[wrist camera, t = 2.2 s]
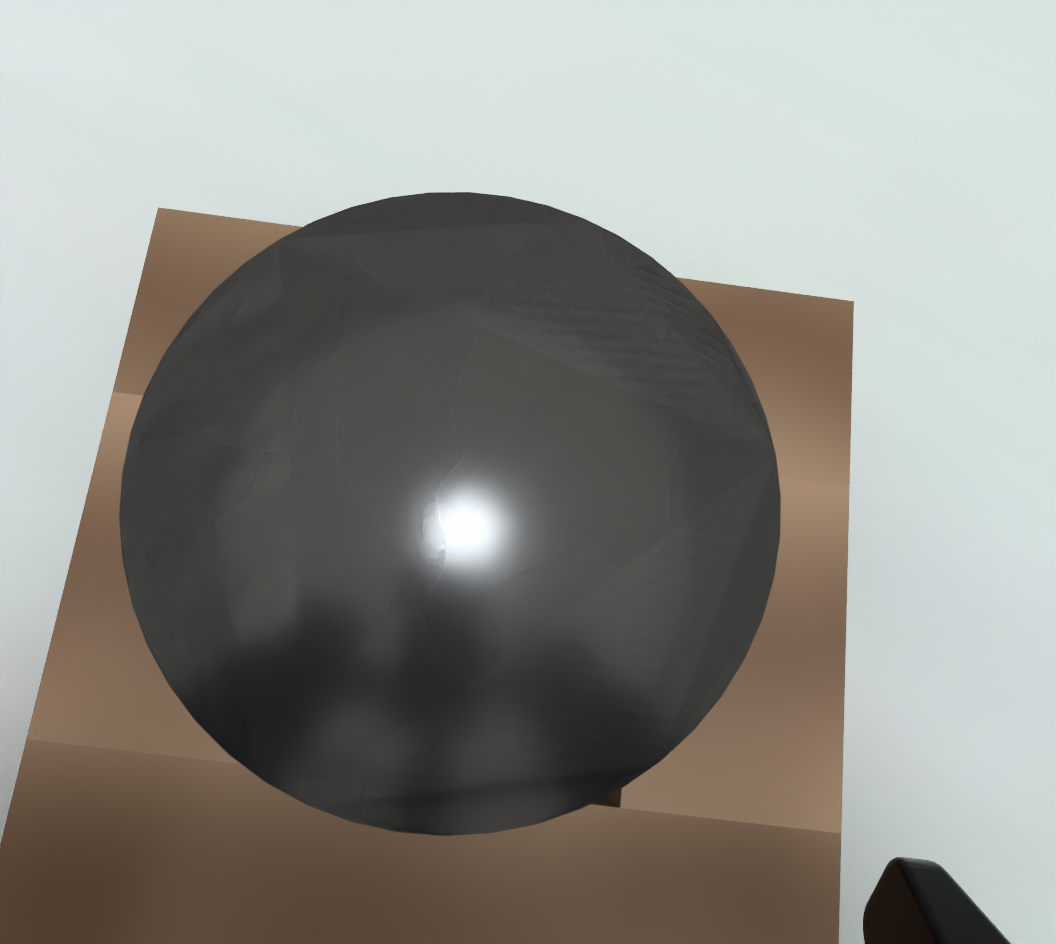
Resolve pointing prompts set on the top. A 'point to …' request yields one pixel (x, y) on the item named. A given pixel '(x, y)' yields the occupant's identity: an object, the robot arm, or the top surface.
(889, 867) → the robot arm
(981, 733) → the top surface
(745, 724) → the housing
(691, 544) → the shiny metal cylinder
